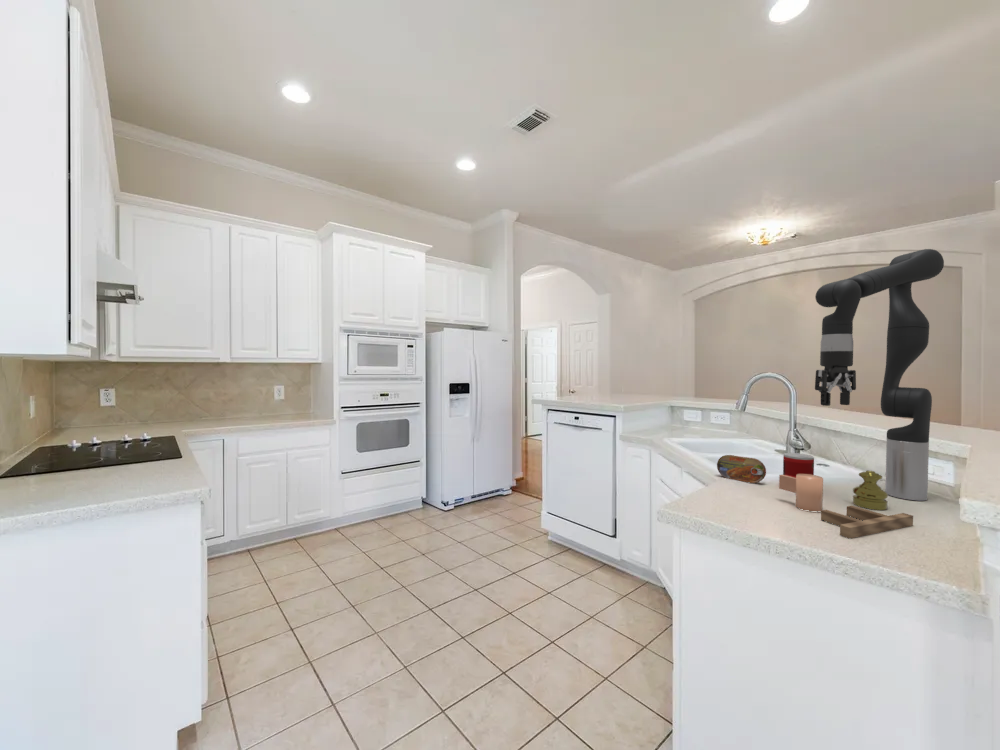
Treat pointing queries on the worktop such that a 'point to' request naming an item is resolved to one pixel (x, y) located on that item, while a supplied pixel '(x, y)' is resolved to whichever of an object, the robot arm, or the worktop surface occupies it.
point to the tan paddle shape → (804, 490)
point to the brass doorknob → (870, 492)
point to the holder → (865, 521)
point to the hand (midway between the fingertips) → (835, 405)
